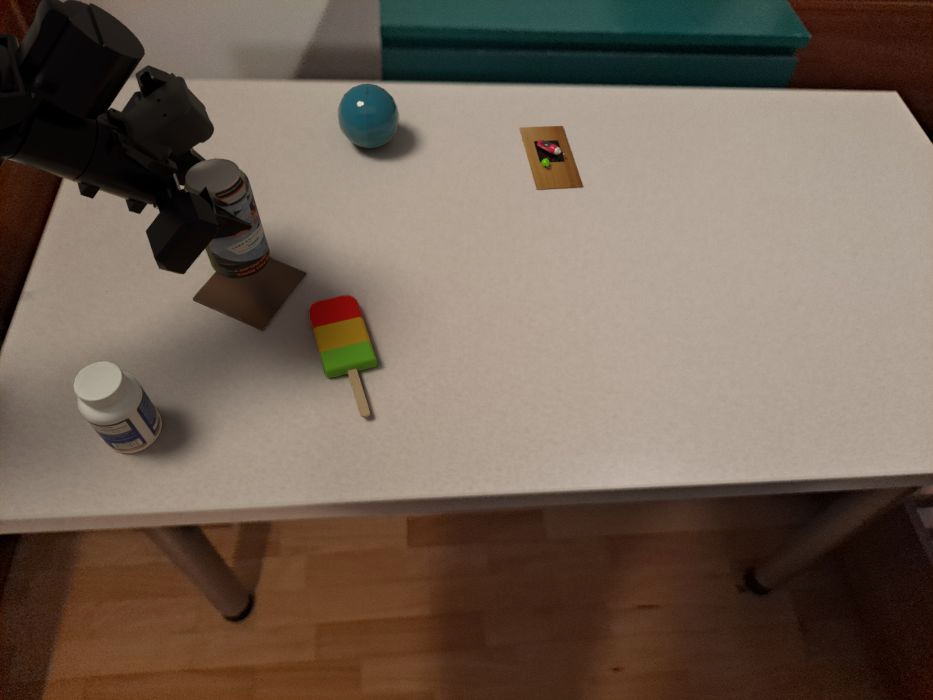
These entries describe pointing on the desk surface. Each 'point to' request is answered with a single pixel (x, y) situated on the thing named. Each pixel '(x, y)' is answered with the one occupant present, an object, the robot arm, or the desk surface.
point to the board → (550, 157)
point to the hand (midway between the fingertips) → (240, 207)
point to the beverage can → (236, 197)
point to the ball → (368, 116)
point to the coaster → (251, 293)
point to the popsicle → (343, 342)
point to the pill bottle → (117, 407)
